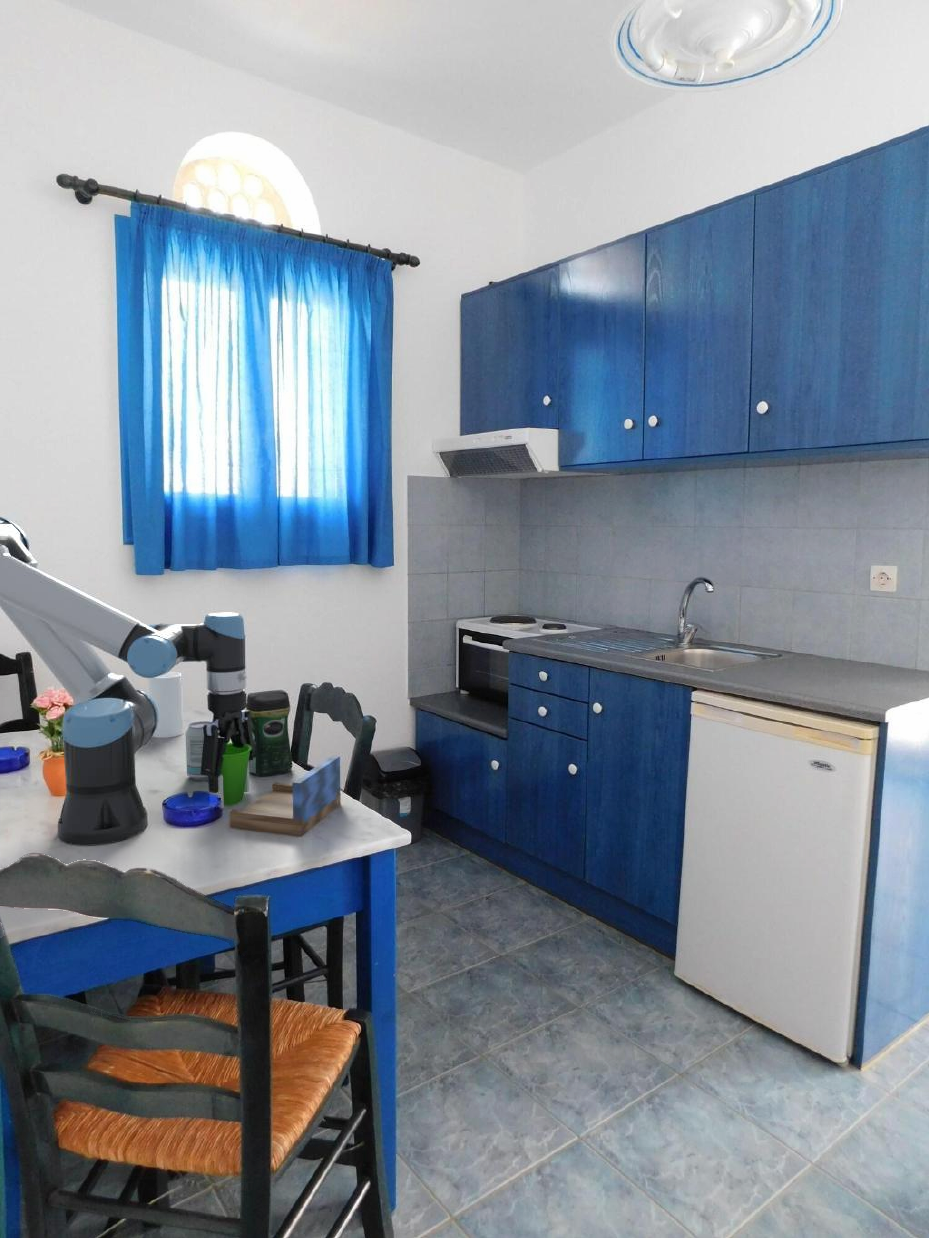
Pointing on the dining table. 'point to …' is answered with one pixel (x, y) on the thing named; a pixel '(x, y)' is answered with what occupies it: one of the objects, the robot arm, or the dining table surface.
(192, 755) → the beverage can
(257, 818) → the wooden display stand
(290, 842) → the dining table surface
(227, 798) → the cup
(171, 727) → the cup
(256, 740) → the coffee jar
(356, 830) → the dining table surface
